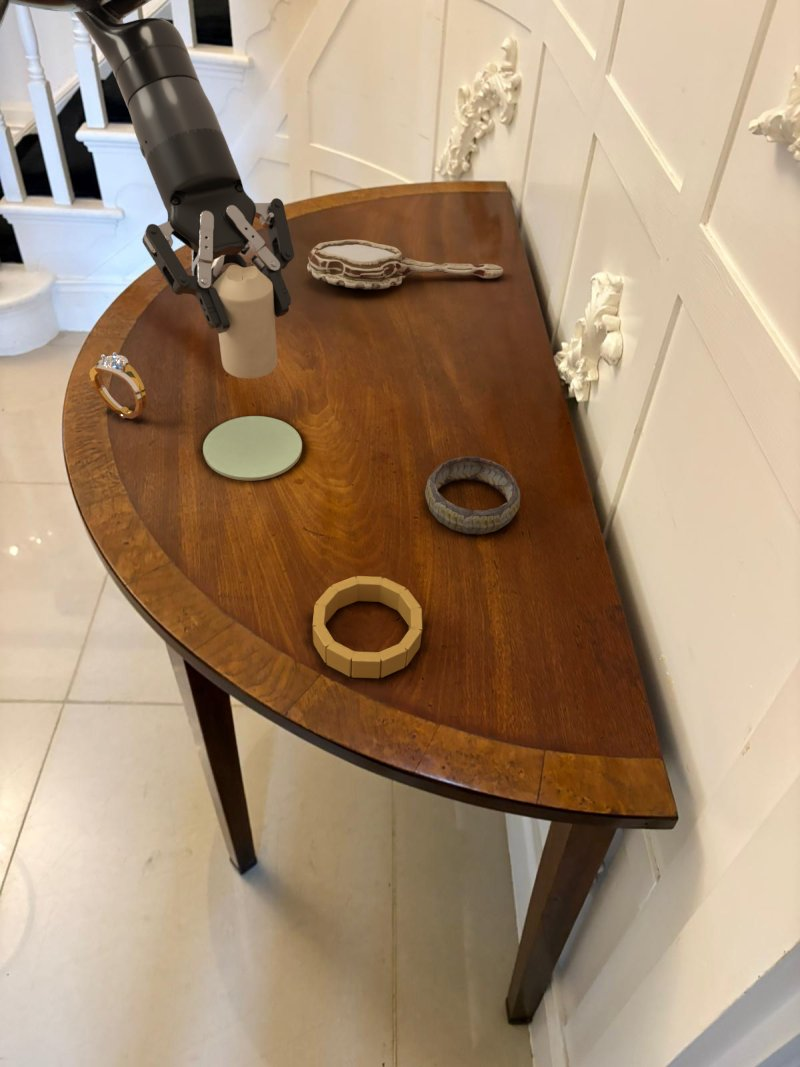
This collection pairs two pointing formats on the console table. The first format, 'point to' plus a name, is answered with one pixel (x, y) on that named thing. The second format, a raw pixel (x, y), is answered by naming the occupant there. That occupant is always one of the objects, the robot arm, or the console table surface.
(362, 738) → the console table surface
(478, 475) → the decorative ring
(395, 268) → the hand mirror
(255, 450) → the coaster
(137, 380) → the ring
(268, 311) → the candle
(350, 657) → the segmented bracelet
